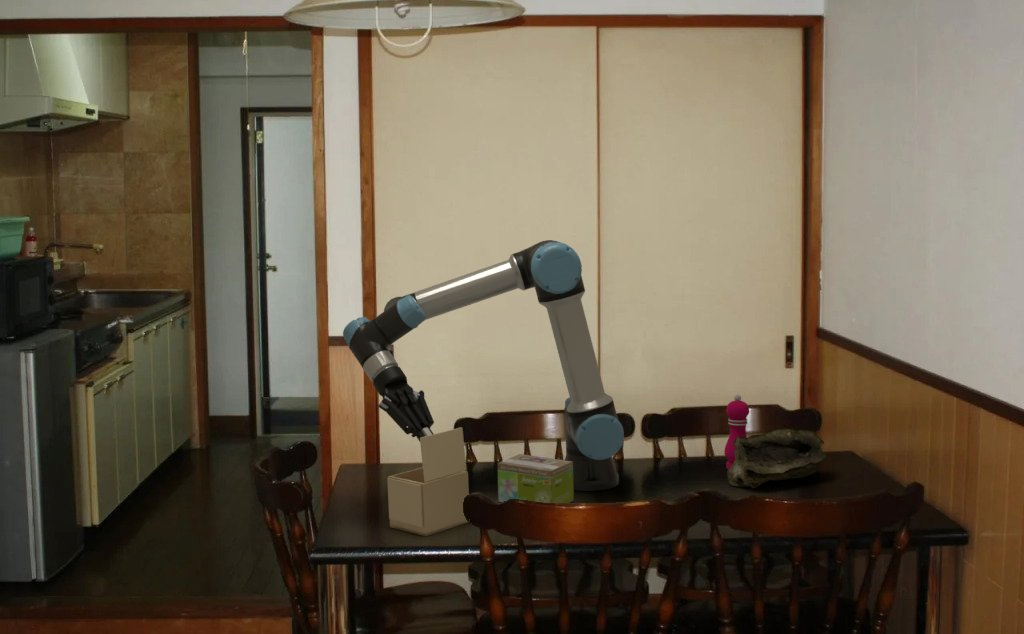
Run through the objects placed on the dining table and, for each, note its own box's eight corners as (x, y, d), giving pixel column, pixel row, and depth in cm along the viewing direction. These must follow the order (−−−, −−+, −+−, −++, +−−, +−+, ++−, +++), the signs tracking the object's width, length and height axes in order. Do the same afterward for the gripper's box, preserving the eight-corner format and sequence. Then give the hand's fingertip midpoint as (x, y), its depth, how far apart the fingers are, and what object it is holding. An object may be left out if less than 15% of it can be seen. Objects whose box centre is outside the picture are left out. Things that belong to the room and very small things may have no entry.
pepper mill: (756, 470, 321) (756, 396, 319) (731, 472, 320) (730, 398, 317) (744, 464, 328) (744, 391, 326) (720, 466, 326) (719, 393, 324)
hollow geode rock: (819, 492, 316) (797, 443, 324) (842, 466, 306) (819, 417, 315) (726, 502, 306) (706, 452, 314) (747, 476, 296) (725, 425, 305)
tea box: (497, 524, 280) (495, 461, 278) (521, 513, 288) (519, 452, 286) (552, 533, 272) (551, 469, 270) (575, 522, 280) (574, 459, 278)
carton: (434, 512, 291) (432, 463, 290) (471, 521, 283) (469, 471, 281) (386, 527, 280) (384, 476, 279) (423, 537, 272) (421, 485, 270)
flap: (465, 470, 280) (461, 427, 280) (466, 470, 280) (462, 427, 280) (424, 481, 271) (419, 437, 270) (425, 481, 271) (421, 437, 270)
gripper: (399, 380, 292) (449, 457, 283) (357, 388, 283) (408, 469, 274) (413, 360, 288) (465, 438, 279) (371, 368, 279) (423, 449, 269)
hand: (436, 453), depth 276 cm, fingers closed
